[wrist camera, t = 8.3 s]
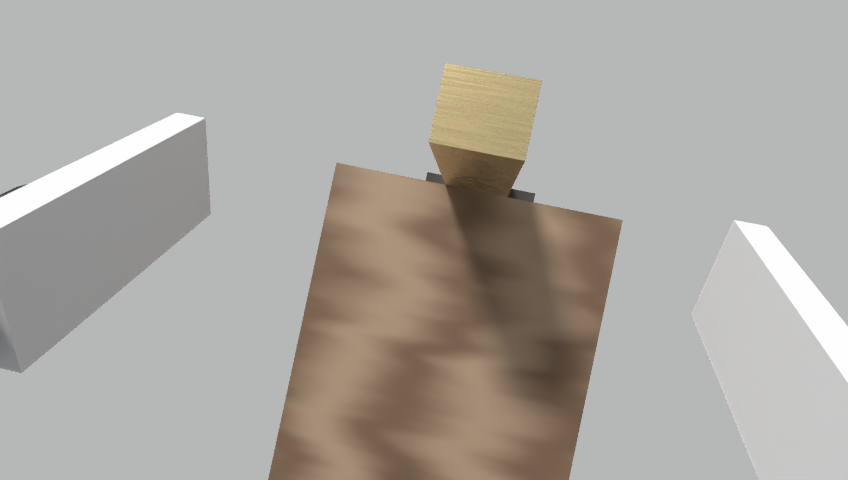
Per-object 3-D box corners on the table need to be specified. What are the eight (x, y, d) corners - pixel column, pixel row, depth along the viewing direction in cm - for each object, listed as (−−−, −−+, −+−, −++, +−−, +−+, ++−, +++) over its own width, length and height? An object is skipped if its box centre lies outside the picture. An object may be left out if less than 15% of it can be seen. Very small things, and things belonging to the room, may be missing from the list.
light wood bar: (495, 220, 43) (501, 188, 43) (525, 160, 17) (542, 80, 17) (456, 212, 43) (463, 180, 43) (428, 142, 17) (445, 63, 18)
